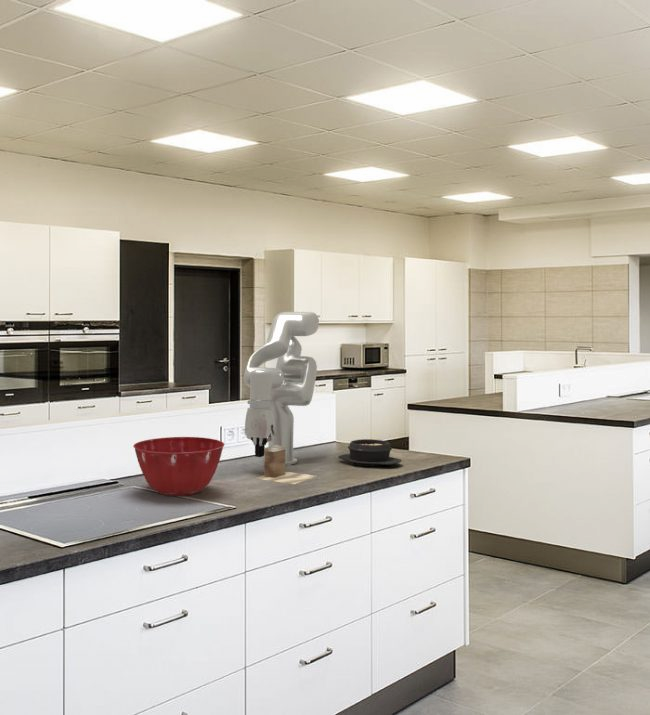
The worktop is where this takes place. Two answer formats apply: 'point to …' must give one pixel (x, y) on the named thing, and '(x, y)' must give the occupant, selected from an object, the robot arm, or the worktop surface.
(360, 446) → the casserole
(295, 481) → the oak board
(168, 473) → the mixing bowl
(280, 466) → the walnut block
